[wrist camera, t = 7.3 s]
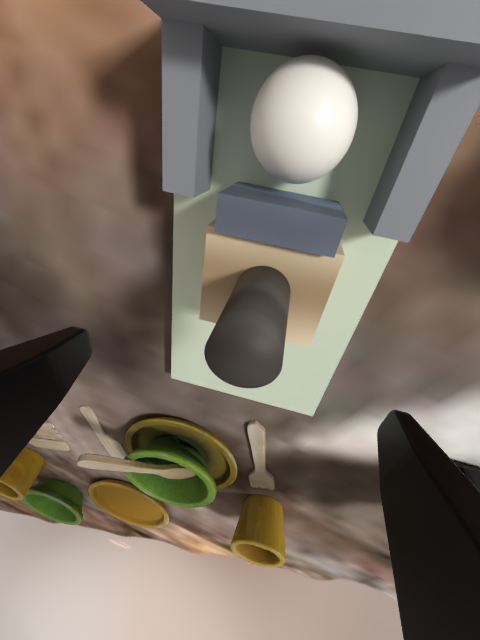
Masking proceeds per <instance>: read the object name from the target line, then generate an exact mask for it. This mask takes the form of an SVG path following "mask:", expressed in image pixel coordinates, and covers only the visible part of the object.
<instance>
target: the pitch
mask: <svg viewBox="0 0 480 640" xmlns="http://www.w3.org/2000/svg"><path fill="white" fill-rule="evenodd" d="M141 1H142V2H143V3H144V4H146V5H147V6H148V7H149V8H150V9H151V10H153V11H154V12H155V13H156V14H157V15H158V16H160V17H161V18H162V177H163V191H166V192H170V193H174V221H173V285H172V349H171V378H173V379H177V380H180V381H184V382H188V383H192V384H195V385H199V386H203V387H206V388H210V389H214V390H217V391H221V392H225V393H228V394H232V395H236V396H240V397H243V398H247V399H251V400H254V401H258V402H262V403H265V404H269V405H273V406H276V407H280V408H284V409H288V410H291V411H295V412H299V413H302V414H306V415H310V416H313V414H314V412H315V410H316V408H317V406H318V404H319V402H320V400H321V398H322V396H323V394H324V392H325V390H326V388H327V386H328V384H329V382H330V380H331V378H332V376H333V374H334V371H335V369H336V367H337V365H338V363H339V361H340V359H341V357H342V355H343V353H344V351H345V349H346V347H347V345H348V343H349V341H350V339H351V337H352V335H353V333H354V330H355V328H356V326H357V324H358V322H359V320H360V318H361V316H362V314H363V312H364V310H365V308H366V306H367V304H368V302H369V300H370V298H371V296H372V294H373V292H374V290H375V287H376V285H377V283H378V281H379V279H380V277H381V275H382V273H383V271H384V269H385V267H386V265H387V263H388V261H389V259H390V257H391V255H392V253H393V251H394V249H395V246H396V244H397V242H398V241H402V242H407V243H409V241H410V239H411V237H412V235H413V233H414V231H415V229H416V227H417V225H418V223H419V222H420V220H421V218H422V216H423V214H424V212H425V210H426V208H427V206H428V204H429V202H430V200H431V198H432V196H433V194H434V192H435V190H436V188H437V186H438V184H439V182H440V180H441V179H442V177H443V175H444V173H445V171H446V169H447V167H448V165H449V163H450V161H451V159H452V157H453V155H454V153H455V151H456V149H457V147H458V145H459V143H460V141H461V139H462V137H463V136H464V134H465V132H466V130H467V128H468V126H469V124H470V122H471V120H472V118H473V116H474V114H475V112H476V110H477V108H478V106H479V104H480V0H141ZM302 55H319V56H323V57H326V58H329V59H331V60H333V61H334V62H336V63H337V64H338V65H340V66H341V67H342V68H343V69H344V70H345V72H346V73H347V75H348V76H349V78H350V80H351V82H352V84H353V86H354V89H355V92H356V96H357V102H358V120H357V126H356V130H355V134H354V137H353V140H352V142H351V145H350V147H349V149H348V151H347V152H346V154H345V155H344V157H343V158H342V160H341V161H340V162H339V163H338V165H336V166H335V167H334V168H333V169H332V170H331V171H330V172H329V173H327V174H326V175H324V176H323V177H321V178H319V179H317V180H315V181H312V182H309V183H303V184H291V183H286V182H282V181H280V180H278V179H276V178H275V177H273V176H271V175H270V174H269V173H268V172H267V171H266V170H265V169H264V168H263V167H262V165H261V164H260V162H259V161H258V159H257V157H256V155H255V152H254V149H253V146H252V142H251V134H250V122H251V114H252V109H253V105H254V102H255V99H256V97H257V94H258V92H259V90H260V89H261V87H262V85H263V84H264V82H265V81H266V79H267V78H268V77H269V76H270V75H271V73H272V72H273V71H274V70H276V69H277V68H278V67H279V66H280V65H282V64H283V63H285V62H286V61H288V60H291V59H293V58H295V57H299V56H302ZM238 181H240V182H244V183H249V184H254V185H259V186H264V187H269V188H274V189H279V190H284V191H289V192H294V193H299V194H304V195H308V196H313V197H318V198H323V199H328V200H333V201H338V202H339V203H340V205H341V207H342V209H343V211H344V213H345V215H346V216H347V218H348V222H347V225H346V228H345V230H344V233H343V236H342V238H341V241H340V242H341V245H342V248H343V251H344V254H345V257H344V260H343V262H342V265H341V268H340V270H339V273H338V275H337V278H336V280H335V283H334V286H333V288H332V291H331V293H330V296H329V298H328V301H327V304H326V306H325V309H324V311H323V314H322V316H321V319H320V322H319V324H318V327H317V329H316V332H315V334H314V337H313V340H312V342H311V345H310V347H308V346H304V345H300V344H296V343H292V342H288V341H285V347H284V356H283V365H282V370H281V372H280V374H279V376H278V377H277V378H276V379H275V380H274V381H273V382H271V383H270V384H268V385H266V386H263V387H259V388H240V387H236V386H233V385H230V384H228V383H226V382H224V381H223V380H221V379H219V378H218V377H217V376H216V375H215V374H214V373H213V372H212V371H211V370H210V368H209V367H208V365H207V363H206V360H205V355H204V349H205V345H206V342H207V340H208V338H209V336H210V334H211V332H212V331H213V329H214V327H215V325H216V323H212V322H208V321H204V320H200V319H199V315H200V303H201V291H202V279H203V268H204V256H205V244H206V232H207V225H208V224H209V223H211V222H212V221H213V220H214V219H215V218H216V209H217V199H218V193H219V192H220V191H222V190H224V189H226V188H227V187H229V186H231V185H233V184H235V183H236V182H238Z"/></svg>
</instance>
